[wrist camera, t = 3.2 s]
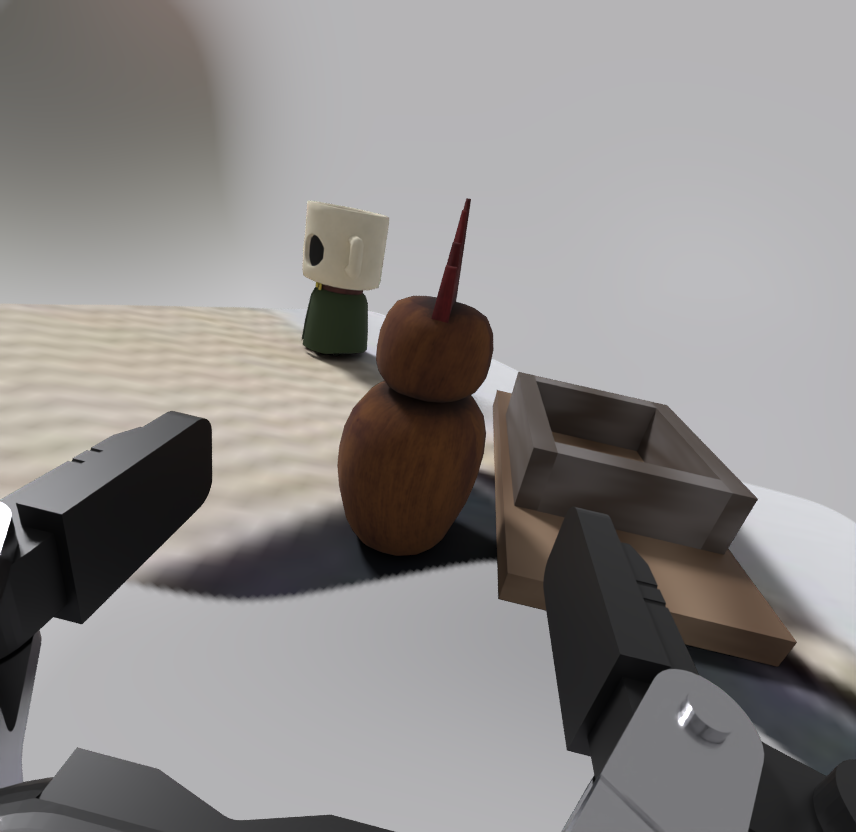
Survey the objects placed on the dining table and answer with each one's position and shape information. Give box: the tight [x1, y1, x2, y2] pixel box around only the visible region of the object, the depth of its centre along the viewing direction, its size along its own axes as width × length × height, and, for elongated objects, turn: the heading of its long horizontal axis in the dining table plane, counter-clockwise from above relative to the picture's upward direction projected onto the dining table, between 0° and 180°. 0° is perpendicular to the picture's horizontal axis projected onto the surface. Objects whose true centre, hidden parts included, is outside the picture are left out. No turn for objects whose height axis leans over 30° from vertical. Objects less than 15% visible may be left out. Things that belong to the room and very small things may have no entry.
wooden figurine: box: [338, 199, 493, 556], centre depth 19 cm, size 7×6×15 cm
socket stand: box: [493, 372, 797, 667], centre depth 28 cm, size 12×22×5 cm, turn 173°
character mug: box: [302, 201, 389, 356], centre depth 42 cm, size 11×7×13 cm, turn 19°
